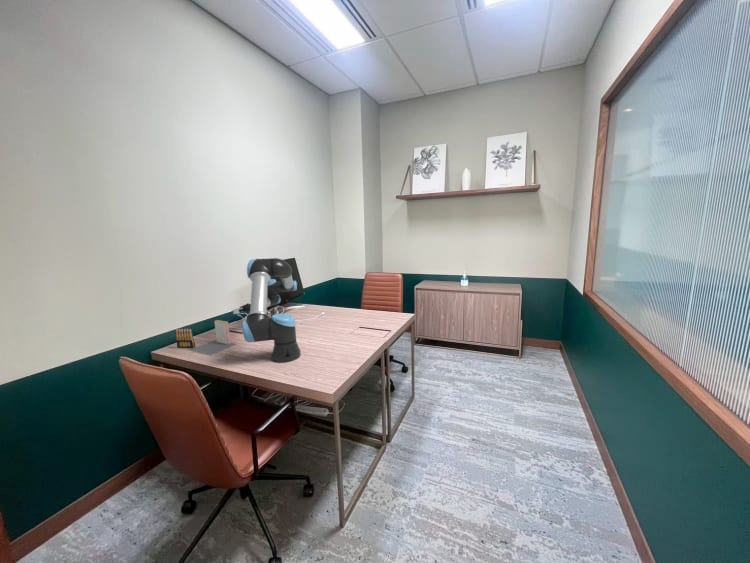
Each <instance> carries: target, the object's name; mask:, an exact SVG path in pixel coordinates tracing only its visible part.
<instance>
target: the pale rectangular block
mask: <svg viewBox="0 0 750 563" xmlns="http://www.w3.org/2000/svg"><path fill="white" fill-rule="evenodd" d="M214 330H215V336H216V340H217V342H218V343H223V344H231V343H232V342H231V334H230V326H229V321H226V320H220V319H216V320H214Z"/></svg>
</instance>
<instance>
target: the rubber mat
mask: <svg viewBox="0 0 750 563" xmlns="http://www.w3.org/2000/svg"><path fill="white" fill-rule="evenodd" d="M237 345H238V343H234V342H231V344H223V343H218V342H217V339H214V340H211V341H209V342H206V343H204V344H201V345H198V346H195V348H188V351H191V352H196V353H198V354H204V355H208V356H212V355H215V354H218V353H220V352H223V351H224V350H226V349H230V348H231V347H234V346H237Z"/></svg>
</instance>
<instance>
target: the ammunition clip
mask: <svg viewBox="0 0 750 563" xmlns="http://www.w3.org/2000/svg"><path fill="white" fill-rule="evenodd" d="M175 334H176V336H175V337H176V346H177V349H192V348H195V347H196V342H195V339H194V336H193V332H192V329H191V328H189V329H188V328H184V329H183V328H176V329H175Z"/></svg>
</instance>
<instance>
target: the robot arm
mask: <svg viewBox="0 0 750 563" xmlns="http://www.w3.org/2000/svg"><path fill="white" fill-rule="evenodd" d="M246 269H247V270H246V273H247V277H248V279H249V280H250V281H251V282H252V283H251V292H250V293H251V294H250V302H249V303H246V304H243V305H241V306H239V307H238V308H235V309H233V310H232V314H233V315H237V314H240V313H244V312H249V314H248V315H246V319H244V320H242V322H241V328H242V330H241V331H242V335H243V338H244V340H245V342H246V343H256V342H257V343H258V342H266V341H273V344H274V345H273V349H272V353H271V358H272V361H273V362H276V363H287V362H292V361H294V360H295V361H296V360H298V358H300V357H301V356H302V354H301V353H302V352H301V349H300V347H299V344H298V342H297V333H296V331H297V330H296V321H295V317H294V316H293V315H290V314H288V313H278V314H273V315H272V316H271V318H270V316H269V315H268V314H267V313H268V311H267V310H268V309H267V308H268V307H269V308H270V307H272V306H276V305H279V304H280V303H281V301H282V299H281V298H282V297H281V295H280V294H278V293H279V292H293V291H294V292H295V291H297V290H298V283H297V280H293V276H292V274H293V269H292V266H291V265H290V264H289V263H288V262H287V261H286V260H284V259H282V258H276V257H275V258H274V257H273V258H272V257H271V258H253V259H250V260H249V262H248V263H247V268H246ZM275 278H280V280H281V281H277V280H276V279H275Z"/></svg>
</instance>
